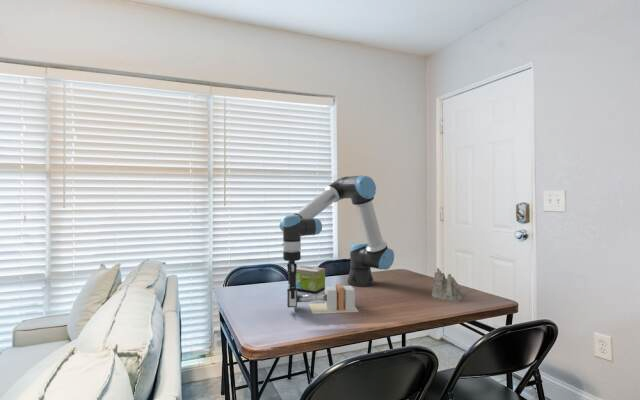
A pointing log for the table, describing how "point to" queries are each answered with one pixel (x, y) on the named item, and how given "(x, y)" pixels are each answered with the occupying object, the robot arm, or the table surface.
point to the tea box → (310, 280)
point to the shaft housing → (335, 301)
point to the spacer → (340, 296)
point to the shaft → (307, 298)
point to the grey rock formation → (446, 287)
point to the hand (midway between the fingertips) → (292, 302)
